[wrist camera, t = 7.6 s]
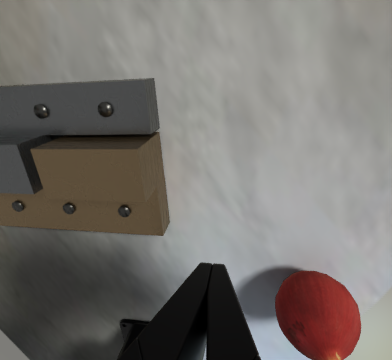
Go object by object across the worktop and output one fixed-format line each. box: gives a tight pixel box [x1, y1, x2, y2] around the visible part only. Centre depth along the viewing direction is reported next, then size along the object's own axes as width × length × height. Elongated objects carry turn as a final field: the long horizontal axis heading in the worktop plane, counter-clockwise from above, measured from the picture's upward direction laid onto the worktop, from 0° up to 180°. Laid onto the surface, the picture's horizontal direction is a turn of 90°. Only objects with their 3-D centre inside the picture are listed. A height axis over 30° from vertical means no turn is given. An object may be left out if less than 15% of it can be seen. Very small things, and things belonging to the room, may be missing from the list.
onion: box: [275, 271, 361, 360], centre depth 19 cm, size 6×6×8 cm
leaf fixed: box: [0, 78, 160, 194], centre depth 19 cm, size 7×17×4 cm, turn 93°
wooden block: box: [0, 132, 170, 236], centre depth 20 cm, size 8×16×4 cm, turn 93°
